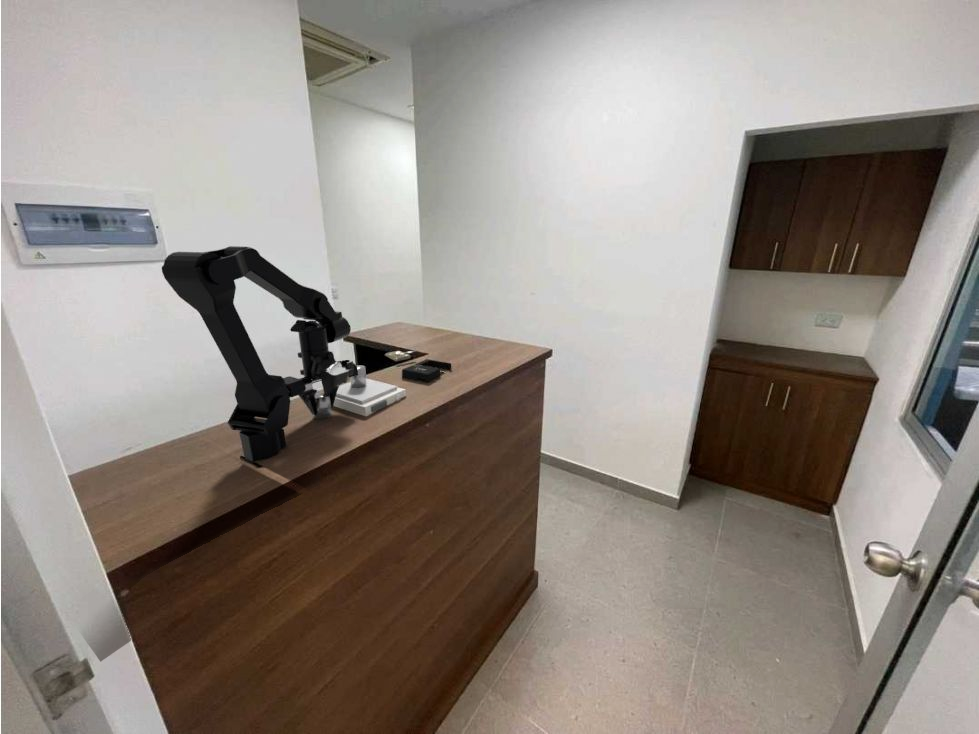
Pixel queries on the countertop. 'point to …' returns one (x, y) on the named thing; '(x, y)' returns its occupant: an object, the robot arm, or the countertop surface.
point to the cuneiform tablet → (399, 355)
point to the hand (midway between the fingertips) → (322, 411)
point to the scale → (367, 397)
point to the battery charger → (425, 370)
